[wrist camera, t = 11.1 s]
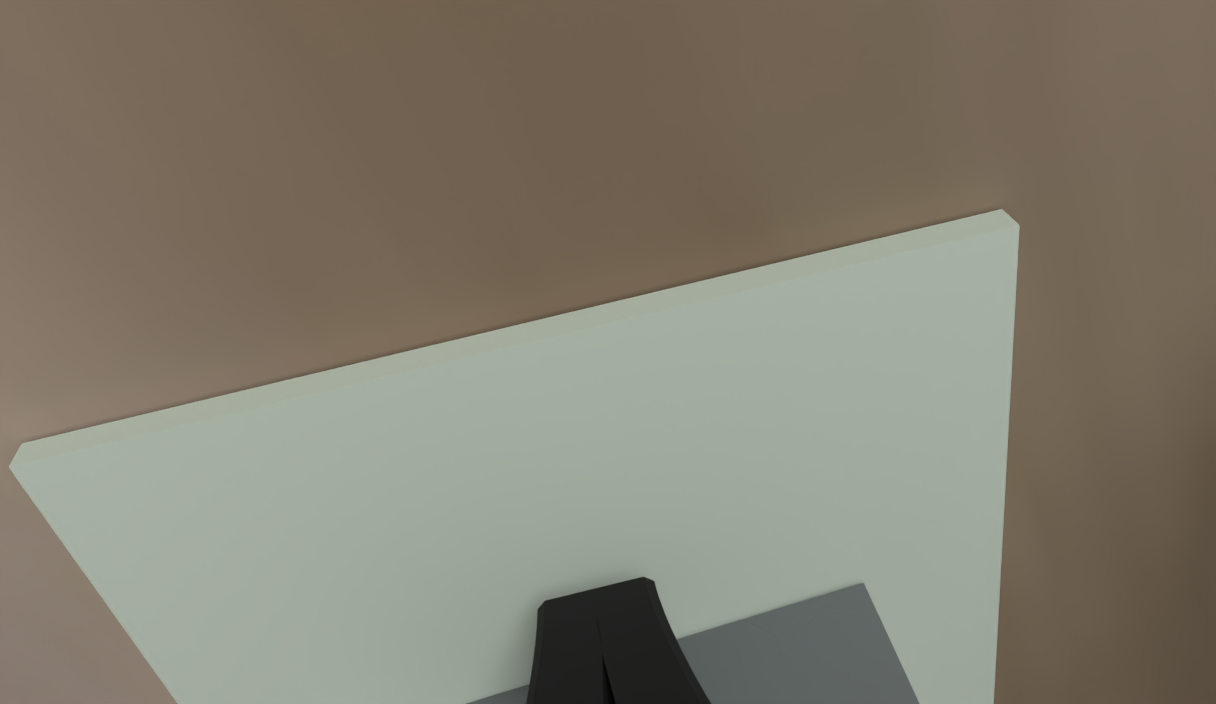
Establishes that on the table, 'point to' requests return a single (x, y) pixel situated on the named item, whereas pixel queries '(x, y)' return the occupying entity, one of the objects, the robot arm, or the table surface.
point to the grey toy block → (793, 657)
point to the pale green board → (574, 483)
